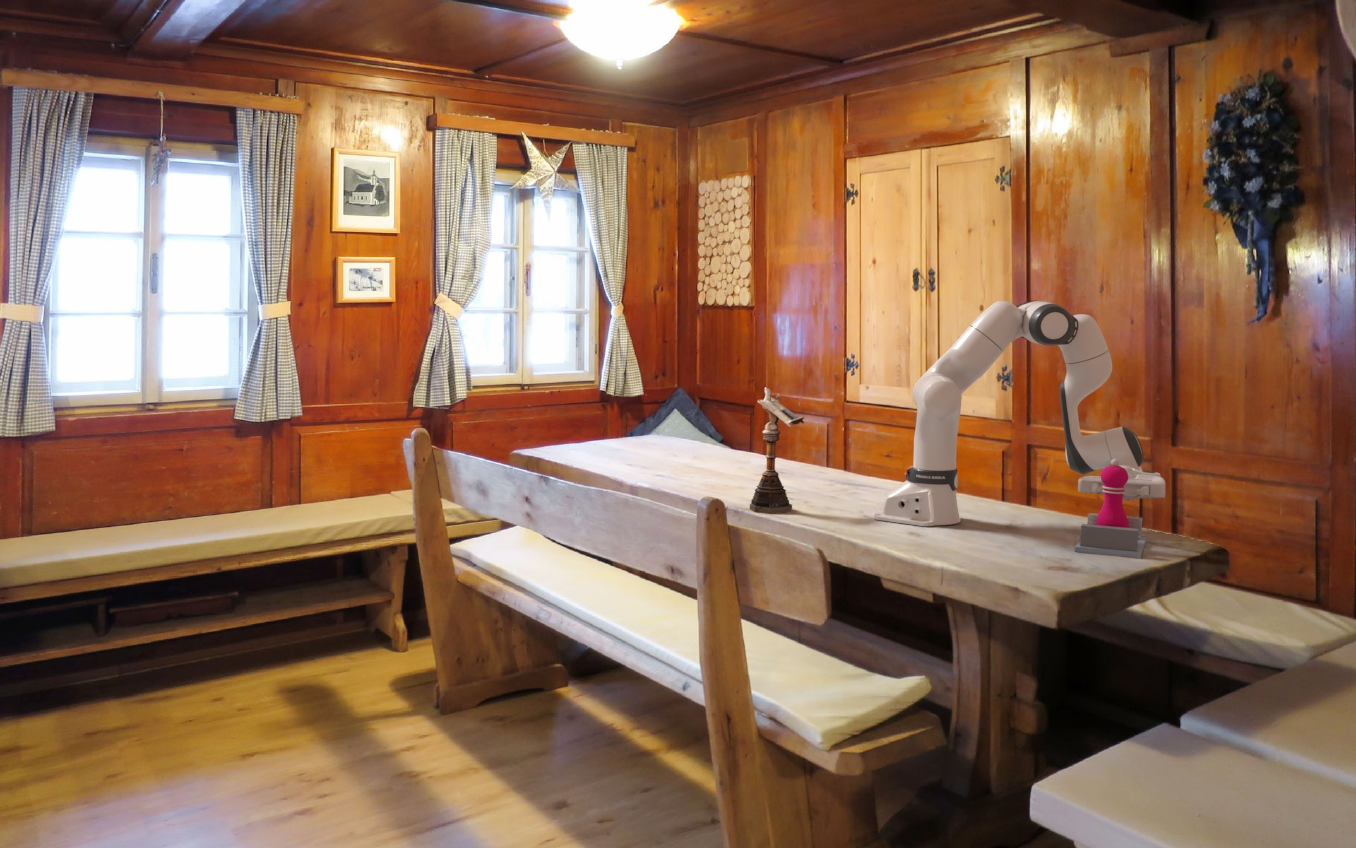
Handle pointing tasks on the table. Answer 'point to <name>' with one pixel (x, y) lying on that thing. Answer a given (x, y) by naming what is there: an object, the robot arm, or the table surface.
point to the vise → (1110, 541)
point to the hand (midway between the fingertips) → (1119, 491)
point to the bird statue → (773, 460)
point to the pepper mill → (1113, 496)
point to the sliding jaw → (1133, 521)
